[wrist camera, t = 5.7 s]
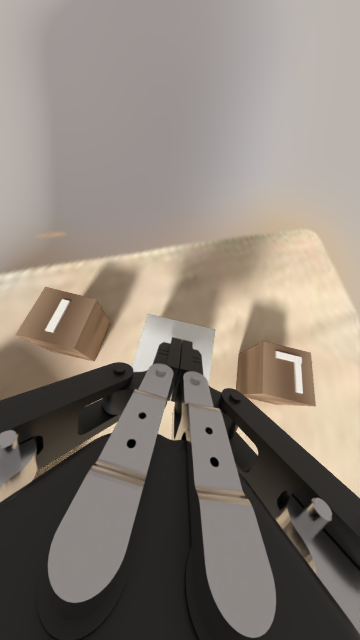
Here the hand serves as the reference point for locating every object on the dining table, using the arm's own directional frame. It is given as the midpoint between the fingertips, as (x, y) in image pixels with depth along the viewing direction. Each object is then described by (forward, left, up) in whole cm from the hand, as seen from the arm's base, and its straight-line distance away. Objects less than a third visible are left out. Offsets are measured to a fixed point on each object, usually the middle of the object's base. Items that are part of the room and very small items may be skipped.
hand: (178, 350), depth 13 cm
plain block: (0, 0, -10) cm, 10 cm away
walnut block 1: (-11, +1, -10) cm, 15 cm away
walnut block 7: (+11, +1, -10) cm, 15 cm away
